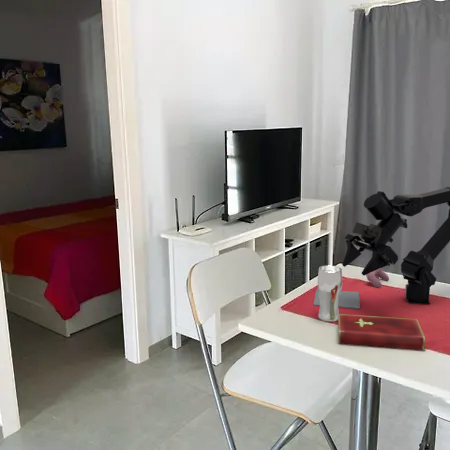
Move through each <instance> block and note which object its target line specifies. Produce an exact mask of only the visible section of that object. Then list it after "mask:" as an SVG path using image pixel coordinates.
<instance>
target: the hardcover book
mask: <svg viewBox="0 0 450 450" xmlns="http://www.w3.org/2000/svg"><path fill="white" fill-rule="evenodd" d="M337 321H338V340H337V342H338V343H337V344H338V345H344V346H345V345H349V346H356V347H357V346H358V347H359V346H360V347H373V348H382V349H383V348H385V349H395V350H396V349H397V350H398V349H399V350H409V351H420V352H421V351H423V352H425V348H426V336H425V334H424V332H423V329H422V327H421V325H420V322H419V320H418V319H417V318H407V317H405V318H404V317H403V318H402V317H390V316H376V315H373V316H372V315H360V314H346V313H345V314H344V313H339V314H338V320H337Z"/></svg>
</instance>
